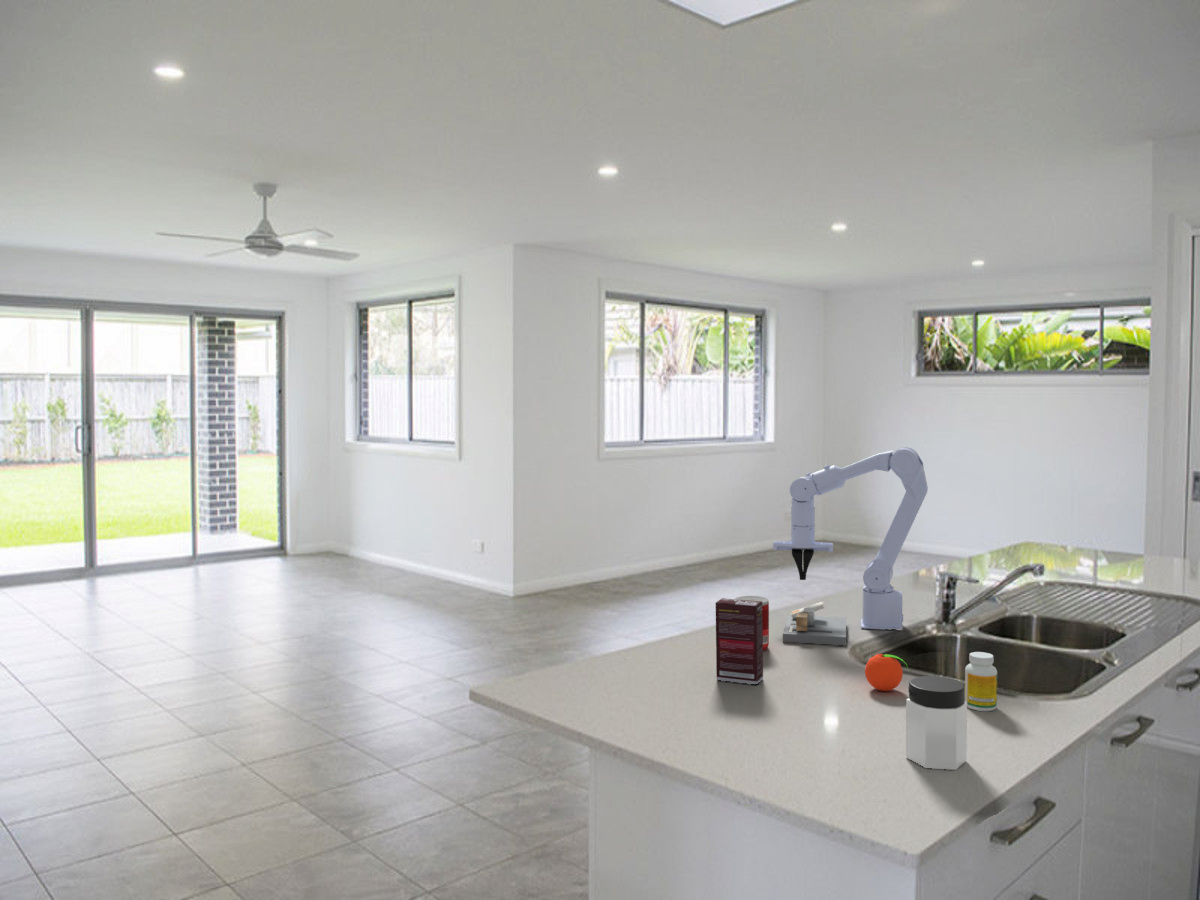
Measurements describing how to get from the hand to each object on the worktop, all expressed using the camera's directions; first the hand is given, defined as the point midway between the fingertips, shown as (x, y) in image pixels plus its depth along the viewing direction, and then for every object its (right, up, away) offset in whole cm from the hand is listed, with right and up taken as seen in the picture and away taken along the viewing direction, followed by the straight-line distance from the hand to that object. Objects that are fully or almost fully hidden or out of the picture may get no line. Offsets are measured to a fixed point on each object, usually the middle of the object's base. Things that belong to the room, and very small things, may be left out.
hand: (802, 579), depth 229 cm
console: (0, -11, -12) cm, 17 cm away
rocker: (0, -7, -6) cm, 9 cm away
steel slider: (-1, -9, -12) cm, 15 cm away
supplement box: (-23, -14, -47) cm, 54 cm away
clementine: (+4, -14, -54) cm, 56 cm away
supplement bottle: (+18, -14, -64) cm, 68 cm away
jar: (+1, -16, -87) cm, 89 cm away
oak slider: (-4, -9, -17) cm, 20 cm away
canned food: (-17, -12, -24) cm, 32 cm away
